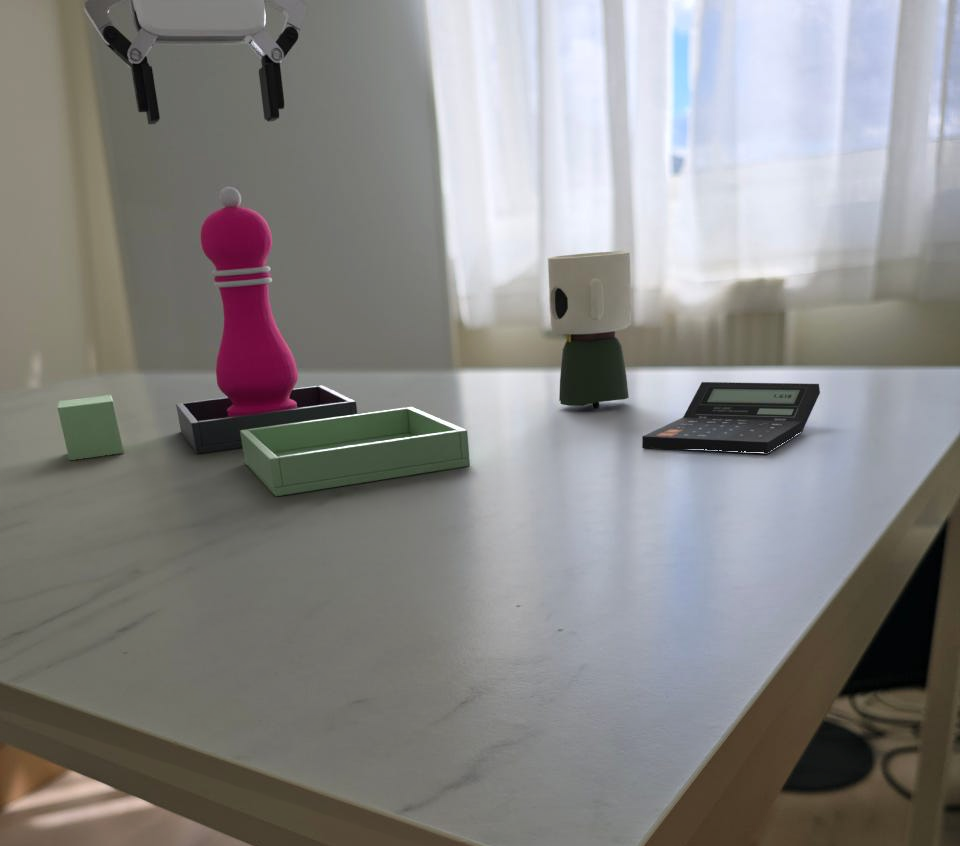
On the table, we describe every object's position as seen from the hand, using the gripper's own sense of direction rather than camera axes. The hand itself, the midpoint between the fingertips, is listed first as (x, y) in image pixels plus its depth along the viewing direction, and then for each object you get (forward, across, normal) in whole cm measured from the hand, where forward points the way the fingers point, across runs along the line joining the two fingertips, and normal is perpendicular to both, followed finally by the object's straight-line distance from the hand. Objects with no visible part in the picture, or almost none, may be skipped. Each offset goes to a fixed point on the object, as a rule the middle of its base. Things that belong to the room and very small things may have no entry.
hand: (214, 121), depth 84 cm
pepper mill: (+25, -1, 0) cm, 25 cm away
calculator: (+25, -31, +30) cm, 50 cm away
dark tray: (+26, -1, 0) cm, 26 cm away
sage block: (+26, +14, -1) cm, 30 cm away
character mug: (+25, -29, +11) cm, 40 cm away
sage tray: (+26, -4, +20) cm, 33 cm away
